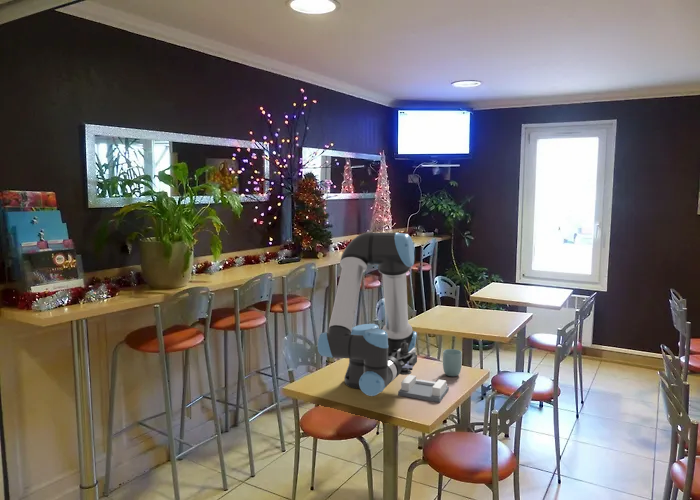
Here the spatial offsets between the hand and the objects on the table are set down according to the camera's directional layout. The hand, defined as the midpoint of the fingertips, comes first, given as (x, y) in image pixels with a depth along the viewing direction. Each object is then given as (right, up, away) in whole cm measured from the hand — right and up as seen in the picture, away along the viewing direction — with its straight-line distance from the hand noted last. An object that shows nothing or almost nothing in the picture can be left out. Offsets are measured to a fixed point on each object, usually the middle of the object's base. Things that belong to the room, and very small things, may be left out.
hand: (409, 350), depth 194 cm
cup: (+21, -15, +26) cm, 37 cm away
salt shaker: (-2, -7, -4) cm, 9 cm away
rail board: (+6, -17, +6) cm, 19 cm away
